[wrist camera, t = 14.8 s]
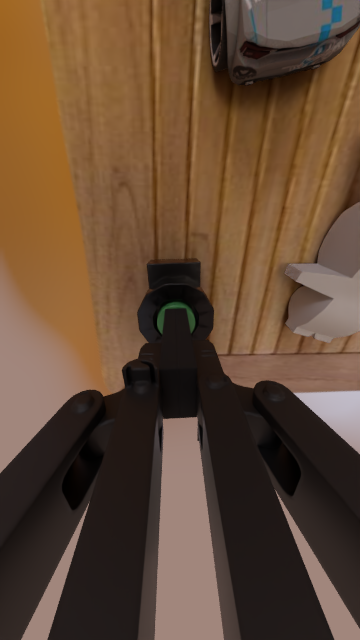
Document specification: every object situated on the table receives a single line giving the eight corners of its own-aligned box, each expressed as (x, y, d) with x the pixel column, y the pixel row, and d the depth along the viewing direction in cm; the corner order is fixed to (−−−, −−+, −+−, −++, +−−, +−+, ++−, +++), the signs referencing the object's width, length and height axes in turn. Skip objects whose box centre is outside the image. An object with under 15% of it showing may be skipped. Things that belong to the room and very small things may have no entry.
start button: (157, 298, 15) (155, 306, 13) (192, 297, 15) (195, 304, 14) (159, 330, 16) (158, 340, 15) (193, 329, 16) (195, 339, 15)
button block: (140, 260, 16) (131, 267, 13) (206, 257, 17) (216, 264, 13) (149, 341, 20) (143, 365, 16) (204, 338, 20) (211, 362, 16)
